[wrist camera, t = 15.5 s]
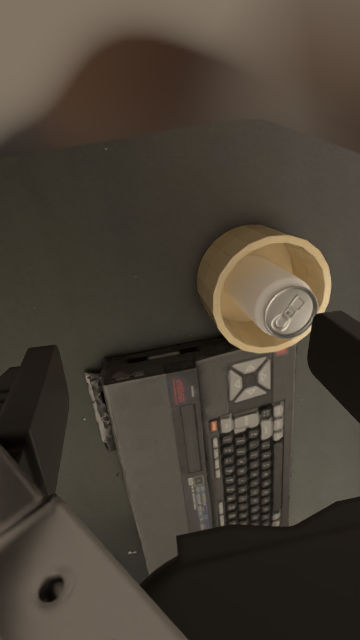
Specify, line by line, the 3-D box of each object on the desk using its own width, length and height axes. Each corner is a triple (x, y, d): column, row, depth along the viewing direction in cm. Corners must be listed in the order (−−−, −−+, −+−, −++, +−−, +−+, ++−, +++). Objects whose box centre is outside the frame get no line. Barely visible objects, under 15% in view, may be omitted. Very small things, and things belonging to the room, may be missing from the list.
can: (213, 284, 44) (246, 321, 33) (246, 243, 42) (293, 268, 31) (249, 311, 46) (290, 354, 35) (281, 273, 45) (335, 305, 34)
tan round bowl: (196, 227, 41) (213, 239, 34) (302, 221, 43) (340, 231, 36) (197, 330, 46) (212, 359, 39) (290, 320, 48) (321, 346, 41)
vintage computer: (285, 521, 65) (305, 564, 58) (136, 555, 63) (138, 605, 56) (285, 318, 48) (314, 343, 41) (81, 355, 46) (72, 388, 38)
